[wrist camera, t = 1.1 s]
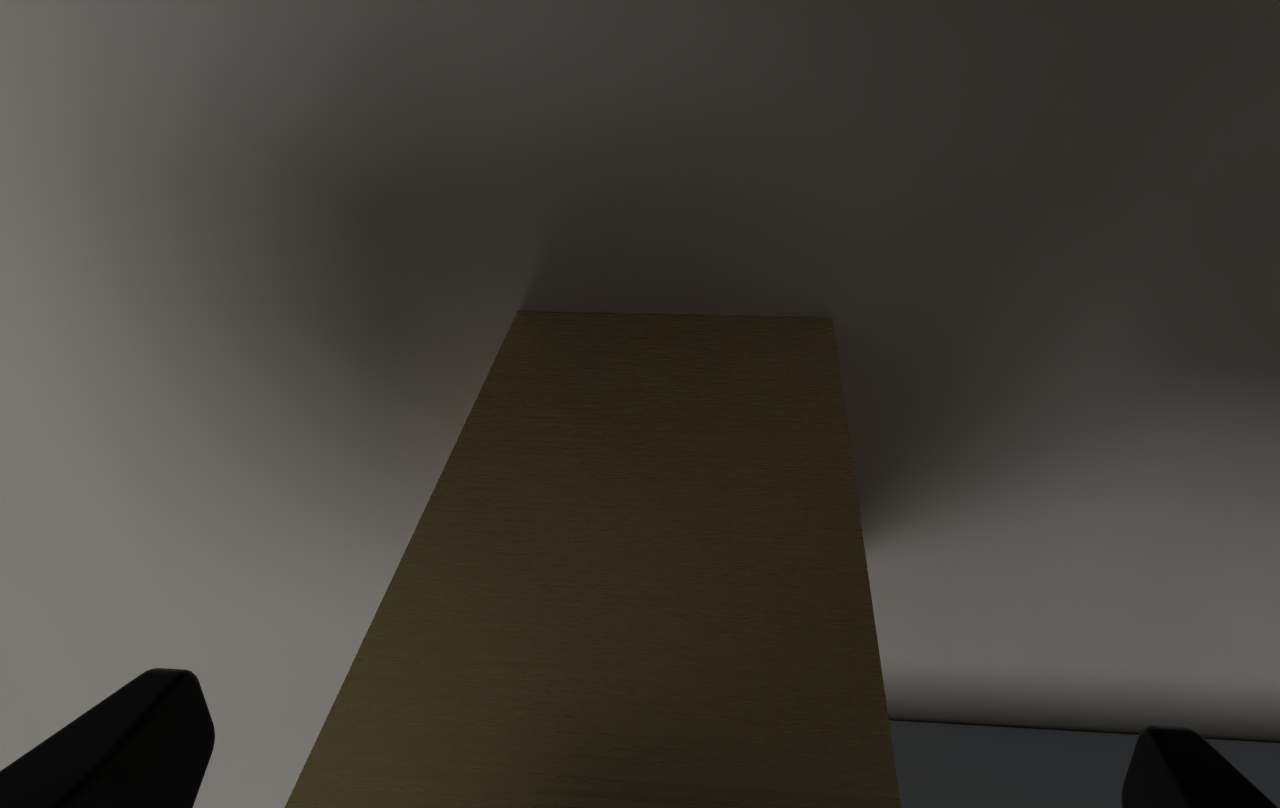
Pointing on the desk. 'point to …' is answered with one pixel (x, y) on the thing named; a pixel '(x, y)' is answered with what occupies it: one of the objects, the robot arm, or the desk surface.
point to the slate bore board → (1036, 766)
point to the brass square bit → (628, 588)
